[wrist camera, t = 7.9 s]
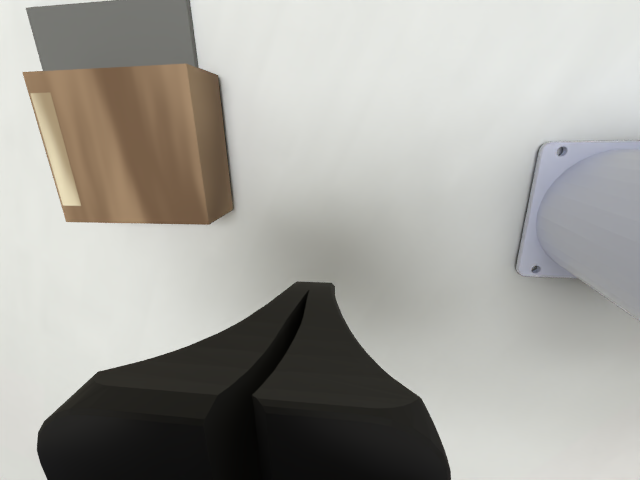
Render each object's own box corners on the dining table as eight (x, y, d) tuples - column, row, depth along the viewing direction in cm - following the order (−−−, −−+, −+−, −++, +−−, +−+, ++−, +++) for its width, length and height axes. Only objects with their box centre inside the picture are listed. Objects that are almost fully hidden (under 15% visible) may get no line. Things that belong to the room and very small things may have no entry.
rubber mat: (188, -3, 18) (185, -6, 17) (216, 207, 22) (213, 209, 21) (32, 10, 19) (25, 7, 19) (85, 206, 23) (80, 207, 23)
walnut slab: (186, 63, 15) (22, 72, 16) (208, 224, 18) (66, 221, 19) (218, 75, 18) (79, 81, 20) (233, 209, 21) (110, 208, 22)
